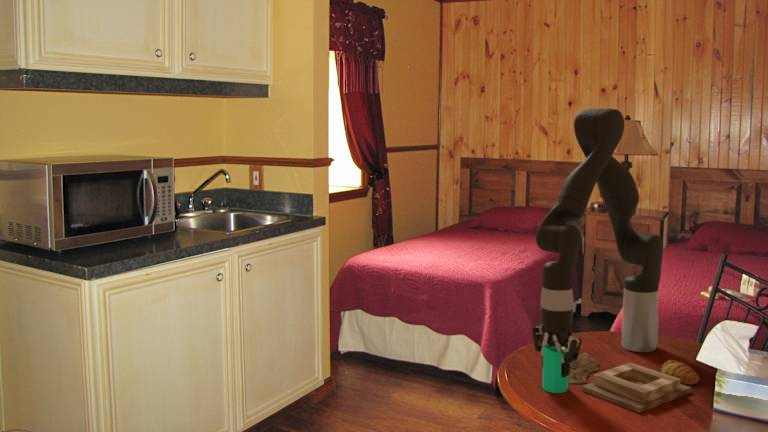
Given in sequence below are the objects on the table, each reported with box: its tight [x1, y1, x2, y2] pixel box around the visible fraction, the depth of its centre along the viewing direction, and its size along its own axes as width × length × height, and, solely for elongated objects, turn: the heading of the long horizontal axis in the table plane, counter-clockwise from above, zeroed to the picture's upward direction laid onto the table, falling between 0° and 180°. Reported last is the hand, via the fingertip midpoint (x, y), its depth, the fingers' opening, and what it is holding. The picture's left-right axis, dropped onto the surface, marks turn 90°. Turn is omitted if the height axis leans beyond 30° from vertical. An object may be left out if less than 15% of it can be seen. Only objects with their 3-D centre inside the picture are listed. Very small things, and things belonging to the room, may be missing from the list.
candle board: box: [581, 362, 692, 414], centre depth 167 cm, size 20×16×4 cm
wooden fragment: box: [568, 352, 601, 386], centre depth 183 cm, size 26×11×1 cm, turn 147°
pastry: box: [660, 359, 700, 385], centre depth 174 cm, size 9×7×4 cm
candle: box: [541, 346, 569, 394], centre depth 169 cm, size 6×6×12 cm
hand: (555, 372), depth 169 cm, fingers closed on candle, 4 cm apart
